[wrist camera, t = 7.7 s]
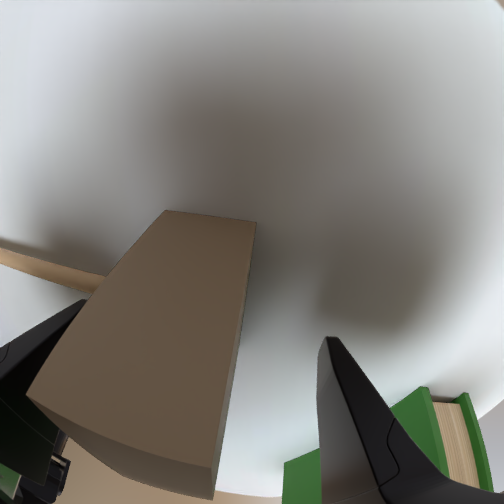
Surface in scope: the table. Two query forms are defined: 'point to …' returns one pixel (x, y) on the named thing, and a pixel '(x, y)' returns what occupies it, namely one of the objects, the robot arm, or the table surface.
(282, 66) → the table surface
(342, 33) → the table surface
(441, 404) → the hardback book
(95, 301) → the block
